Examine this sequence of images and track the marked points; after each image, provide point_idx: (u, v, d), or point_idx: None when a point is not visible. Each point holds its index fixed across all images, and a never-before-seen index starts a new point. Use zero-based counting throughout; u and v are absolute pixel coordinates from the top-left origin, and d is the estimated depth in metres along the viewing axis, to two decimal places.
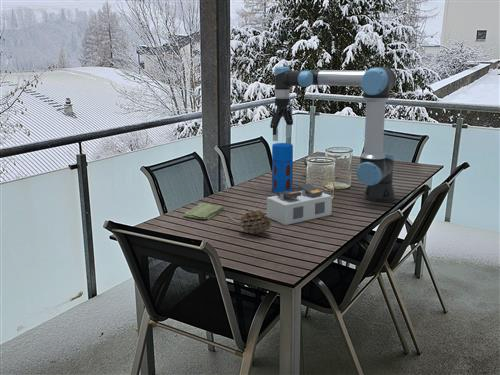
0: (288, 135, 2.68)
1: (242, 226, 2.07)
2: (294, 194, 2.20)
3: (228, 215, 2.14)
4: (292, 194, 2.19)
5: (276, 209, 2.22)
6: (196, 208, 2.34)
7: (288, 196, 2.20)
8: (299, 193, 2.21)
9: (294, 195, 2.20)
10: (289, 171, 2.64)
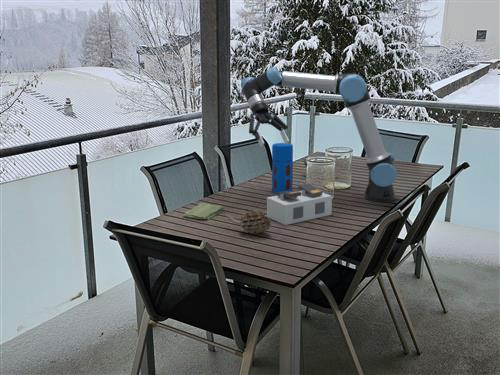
0: (286, 140, 2.33)
1: (242, 226, 2.07)
2: (294, 194, 2.20)
3: (228, 215, 2.14)
4: (292, 194, 2.19)
5: (276, 209, 2.22)
6: (196, 208, 2.34)
7: (288, 196, 2.20)
8: (299, 193, 2.21)
9: (294, 195, 2.20)
10: (289, 171, 2.64)
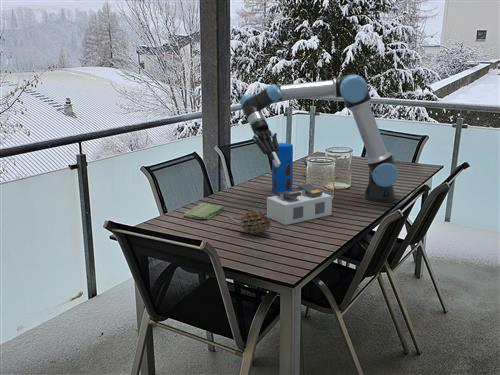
0: None
1: (242, 226, 2.07)
2: (294, 194, 2.20)
3: (228, 215, 2.14)
4: (292, 194, 2.19)
5: (276, 209, 2.22)
6: (196, 208, 2.34)
7: (288, 196, 2.20)
8: (299, 193, 2.21)
9: (294, 195, 2.20)
10: (289, 171, 2.64)
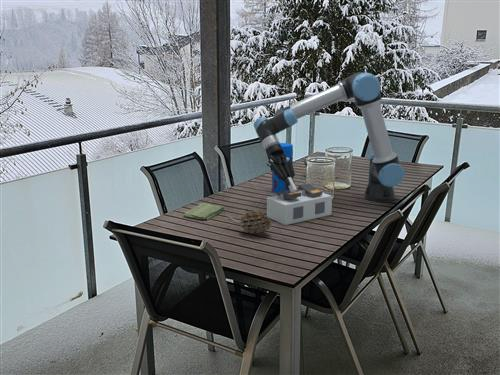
0: None
1: (242, 226, 2.07)
2: (294, 195, 2.20)
3: (228, 215, 2.14)
4: (292, 195, 2.19)
5: (276, 209, 2.22)
6: (196, 208, 2.34)
7: (288, 197, 2.20)
8: (299, 194, 2.21)
9: (294, 196, 2.20)
10: None
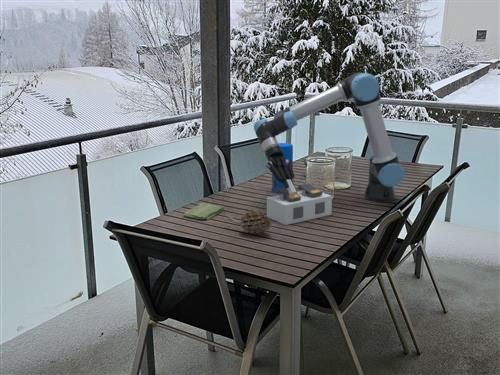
0: None
1: (242, 226, 2.07)
2: (294, 199, 2.20)
3: (228, 215, 2.14)
4: (292, 199, 2.20)
5: (276, 209, 2.22)
6: (196, 208, 2.34)
7: (288, 200, 2.20)
8: (299, 198, 2.22)
9: (294, 200, 2.21)
10: None
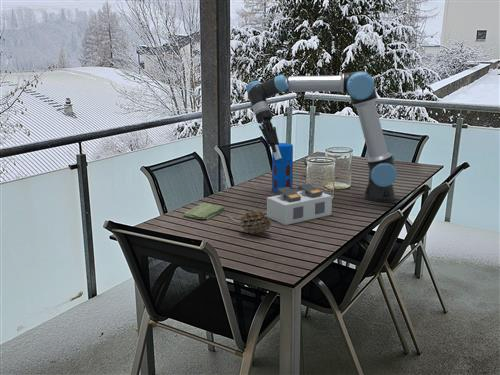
0: None
1: (242, 226, 2.07)
2: (294, 199, 2.20)
3: (228, 215, 2.14)
4: (292, 199, 2.20)
5: (276, 209, 2.22)
6: (196, 208, 2.34)
7: (288, 199, 2.20)
8: (299, 198, 2.22)
9: (294, 199, 2.21)
10: (289, 171, 2.64)
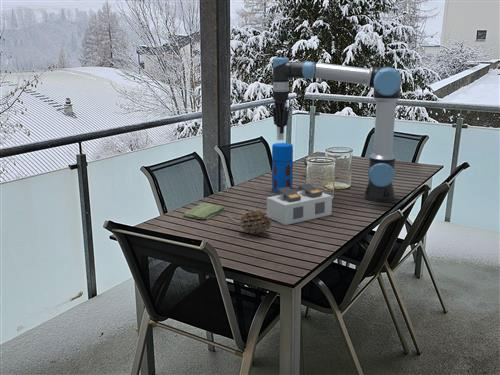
0: None
1: (242, 226, 2.07)
2: (294, 199, 2.20)
3: (228, 215, 2.14)
4: (292, 199, 2.20)
5: (276, 209, 2.22)
6: (197, 208, 2.34)
7: (288, 199, 2.20)
8: (299, 198, 2.22)
9: (294, 199, 2.21)
10: (289, 171, 2.64)
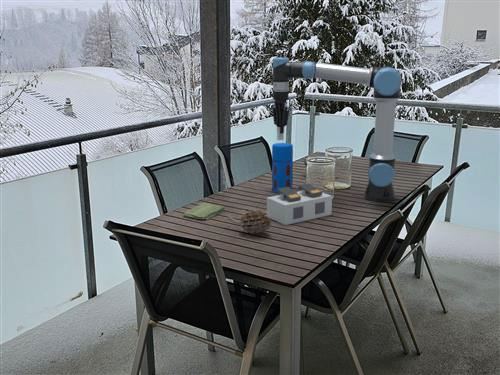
0: None
1: (242, 226, 2.07)
2: (294, 199, 2.20)
3: (228, 215, 2.14)
4: (292, 199, 2.20)
5: (276, 209, 2.22)
6: (197, 208, 2.34)
7: (288, 199, 2.20)
8: (299, 198, 2.22)
9: (294, 199, 2.21)
10: (289, 171, 2.64)
